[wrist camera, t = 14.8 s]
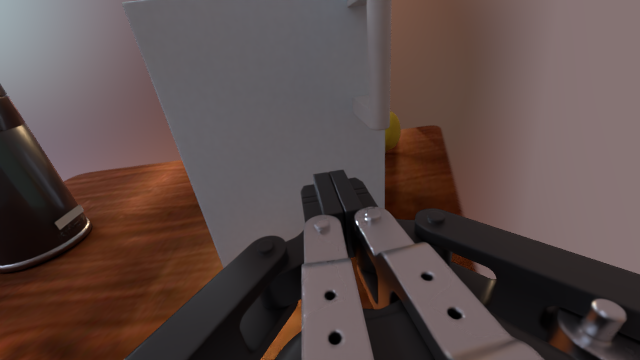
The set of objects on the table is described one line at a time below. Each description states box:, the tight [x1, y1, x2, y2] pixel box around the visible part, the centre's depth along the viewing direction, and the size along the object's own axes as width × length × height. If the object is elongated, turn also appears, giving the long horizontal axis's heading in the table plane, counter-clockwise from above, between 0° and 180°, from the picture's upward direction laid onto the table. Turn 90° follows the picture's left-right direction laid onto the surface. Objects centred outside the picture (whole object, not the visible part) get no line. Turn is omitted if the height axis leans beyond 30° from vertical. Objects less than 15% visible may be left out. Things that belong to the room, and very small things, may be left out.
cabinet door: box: [122, 0, 391, 268], centre depth 19 cm, size 6×16×22 cm, turn 98°
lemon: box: [385, 111, 400, 153], centre depth 45 cm, size 6×6×8 cm
